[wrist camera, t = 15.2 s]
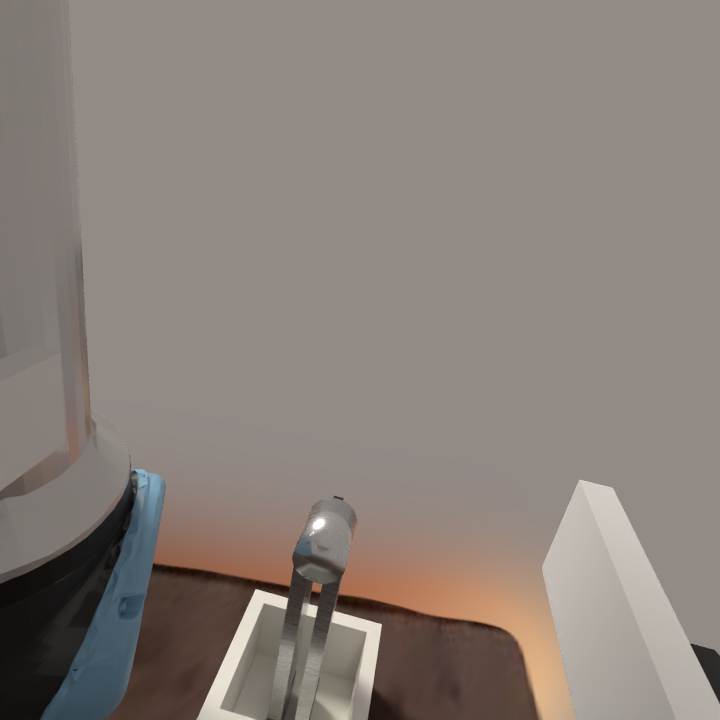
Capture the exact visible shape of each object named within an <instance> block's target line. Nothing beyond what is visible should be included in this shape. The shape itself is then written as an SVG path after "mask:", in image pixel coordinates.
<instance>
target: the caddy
mask: <svg viewBox="0 0 720 720" xmlns="http://www.w3.org/2000/svg"><path fill="white" fill-rule="evenodd" d="M287 602H288V598H285V597H281V596H278V595H274V594H271V593H267V592H264V591H260V590H255V592H254V594H253V597H252V599H251V601H250V603H249V605H248V608H247V610H246V612H245V614H244V617H243V619H242V621H241V623H240V625H239V628H238V630H237V632H236V634H235V636H234V639H233V641H232V643H231V645H230V647H229V650H228V652H227V654H226V656H225V659H224V661H223V663H222V665H221V667H220V670H219V672H218V674H217V676H216V678H215V681H214V683H213V685H212V687H211V689H210V692H209V694H208V696H207V698H206V701H205V703H204V705H203V707H202V709H201V712H200V714H199V716H198V718H197V720H266V718H267V715H268V711H269V706H270V700H271V694H272V688H273V683H274V677H275V671H276V665H277V660H278V654H279V648H280V642H281V637H282V631H283V625H284V619H285V614H286V608H287ZM317 609H318V607H317V606H314V605H310V604H309V605H308V610H307V616H306V621H305V626H304V631H303V636H302V641H301V646H300V651H299V656H298V661H297V666H296V675H295V681H294V686H293V691H292V694H291V698H290V701H289V704H288V708H287V711H286V715H285V718H284V720H294V718H295V715H296V710H297V705H298V700H299V696H300V691H301V686H302V681H303V676H304V671H305V667H306V662H307V657H308V652H309V647H310V643H311V638H312V633H313V628H314V623H315V618H316V614H317ZM381 626H382V624H378V623H375V622H371V621H367V620H364V619H360V618H357V617H353V616H350V615H346V614H342V613H339V612H335V611H334V615H333V620H332V624H331V628H330V633H329V637H328V642H327V646H326V651H325V655H324V659H323V664H322V668H321V673H320V680H319V685H318V689H317V694H316V698H315V702H314V706H313V710H312V714H311V718H310V720H368V714H369V707H370V701H371V694H372V687H373V680H374V673H375V667H376V660H377V653H378V646H379V640H380V633H381Z"/></svg>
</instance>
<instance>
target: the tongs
mask: <svg viewBox="0 0 720 720" xmlns="http://www.w3.org/2000/svg"><path fill="white" fill-rule="evenodd" d="M356 524H357V517H356V514H355V512H354V510H353V509H352V507H350V506H349V505H348V504H347V503H345V502H344V501H343V498H340V497H337V496H334V498H324V499H321V500H319V501H317V502H316V503H315V504H314V505H313V506H312V508H311V510H310V512H309V515H308V518H307V520H306V523H305V525H304V528H303V530H302V532H301V535H300V537H299V540H298V542H297V545H296V547H295V550H294V553H293V557H292V558H293V564H294V568H293V573H292V580H291V585H290V591H289V596H288V602H287V608H286V614H285V619H284V625H283V631H282V637H281V642H280V648H279V654H278V660H277V665H276V671H275V677H274V683H273V688H272V694H271V700H270V706H269V711H268V715H267V718H266V720H284V718H285V715H286V711H287V708H288V704H289V701H290V698H291V694H292V691H293V686H294V681H295V675H296V666H297V661H298V656H299V651H300V646H301V641H302V636H303V631H304V626H305V621H306V616H307V610H308V605H309V600H310V595H311V590H312V585H313V582H315V583H320V584H323V585H322V590H321V594H320V599H319V604H318V609H317V614H316V618H315V623H314V628H313V633H312V638H311V643H310V647H309V652H308V657H307V662H306V667H305V671H304V676H303V681H302V686H301V691H300V696H299V700H298V705H297V710H296V715H295V718H294V720H310V718H311V714H312V710H313V706H314V702H315V698H316V694H317V689H318V685H319V680H320V673H321V668H322V664H323V659H324V655H325V651H326V646H327V642H328V637H329V633H330V628H331V624H332V620H333V615H334V611H335V606H336V602H337V598H338V593H339V589H340V584H341V580H342V575H343V573H344V571H345V567H346V563H347V560H348V556H349V552H350V548H351V544H352V540H353V536H354V532H355V529H356Z"/></svg>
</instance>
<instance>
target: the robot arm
mask: <svg viewBox="0 0 720 720" xmlns="http://www.w3.org/2000/svg"><path fill="white" fill-rule="evenodd" d="M89 393H90V392H89V374H88V355H87V337H86V319H85V300H84V281H83V263H82V245H81V225H80V207H79V188H78V171H77V151H76V133H75V114H74V96H73V77H72V59H71V40H70V22H69V3H68V0H0V720H104V719H106V718H107V717H108V716H109V715H110V714H112V713H113V711H114V710H115V709H116V708H117V707H118V705H119V704H120V702H121V701H122V699H123V697H124V695H125V692H126V689H127V686H128V682H129V678H130V674H131V669H132V665H133V660H134V655H135V650H136V645H137V641H138V636H139V630H140V625H141V619H142V614H143V608H144V607H143V606H144V601H145V598H146V594H147V588H148V583H149V579H150V575H151V569H152V564H153V559H154V553H155V548H156V543H157V537H158V532H159V525H160V520H161V515H162V509H163V503H164V496H165V488H166V486H165V482H164V480H163V479H162V478H161V477H160V476H159V475H157V474H152V473H147V472H146V471H144V470H143V469H140V470H138V469H134V470H130V468H131V463H130V455H129V450H128V445H127V443H126V441H125V438H124V437H123V435H122V433H121V432H120V431H119V430H118V429H117V427H116V426H115V425H114V424H112V423H111V422H110V421H109V420H108V419H107V418H105V417H103V416H102V415H100V414H99V413H97V412H95V411H93V410H91V409H90V394H89ZM542 571H543V575H544V579H545V584H546V588H547V593H548V598H549V602H550V606H551V611H552V615H553V620H554V624H555V629H556V633H557V638H558V642H559V646H560V651H561V656H562V660H563V665H564V669H565V673H566V678H567V682H568V687H569V691H570V696H571V700H572V705H573V709H574V713H575V718H576V720H720V656H719V654H718V653H717V652H716V651H715V650H713V649H708V648H705V647H701V646H698V645H694V644H690V643H689V641H688V639H687V637H686V635H685V633H684V631H683V629H682V627H681V625H680V623H679V621H678V619H677V617H676V615H675V613H674V611H673V609H672V607H671V605H670V603H669V600H668V598H667V597H666V595H665V592H664V590H663V588H662V586H661V585H660V582H659V580H658V578H657V576H656V574H655V572H654V570H653V568H652V566H651V564H650V562H649V560H648V558H647V556H646V554H645V552H644V550H643V548H642V546H641V544H640V542H639V540H638V538H637V536H636V534H635V532H634V530H633V528H632V526H631V524H630V522H629V520H628V518H627V516H626V514H625V512H624V510H623V508H622V506H621V504H620V502H619V500H618V498H617V496H616V493H615V492H614V489H613V488H611V487H607V486H603V485H599V484H595V483H591V482H587V481H583V480H579V482H578V484H577V487H576V489H575V492H574V494H573V497H572V499H571V501H570V503H569V505H568V508H567V510H566V513H565V515H564V517H563V520H562V522H561V524H560V527H559V529H558V532H557V534H556V536H555V539H554V541H553V543H552V545H551V548H550V550H549V553H548V555H547V557H546V560H545V562H544V564H543V567H542Z"/></svg>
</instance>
